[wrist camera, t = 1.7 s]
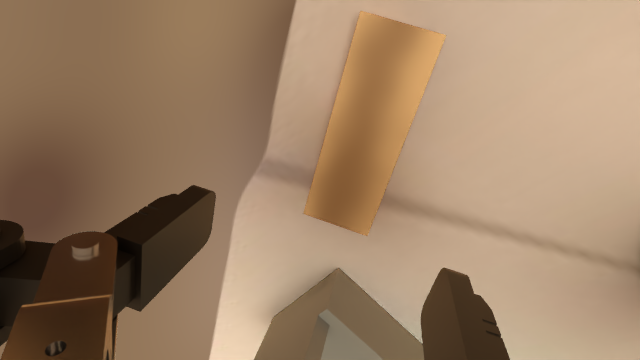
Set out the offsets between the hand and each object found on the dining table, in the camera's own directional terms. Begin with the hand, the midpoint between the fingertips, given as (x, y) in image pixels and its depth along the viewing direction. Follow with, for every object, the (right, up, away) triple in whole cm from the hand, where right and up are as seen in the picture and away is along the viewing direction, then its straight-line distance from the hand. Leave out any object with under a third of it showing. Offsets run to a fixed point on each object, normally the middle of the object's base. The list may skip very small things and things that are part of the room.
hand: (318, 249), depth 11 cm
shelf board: (+4, +6, +13) cm, 15 cm away
